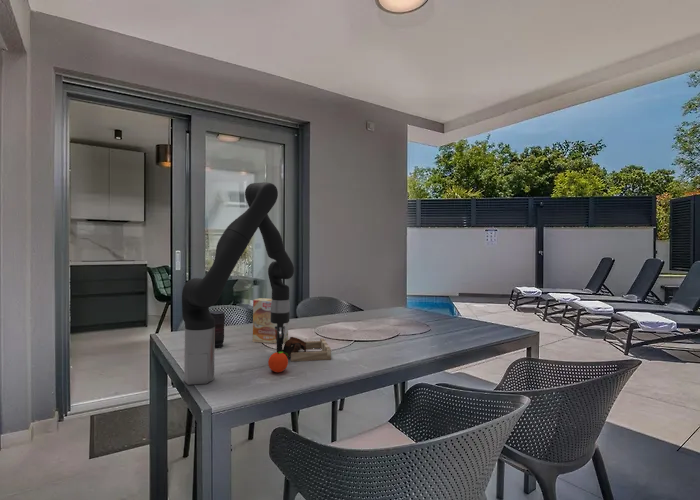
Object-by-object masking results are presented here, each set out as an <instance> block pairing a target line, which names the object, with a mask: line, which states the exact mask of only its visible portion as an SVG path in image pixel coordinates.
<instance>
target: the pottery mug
mask: <svg viewBox="0 0 700 500" xmlns="http://www.w3.org/2000/svg"><path fill="white" fill-rule="evenodd" d="M305 342H306V341H305V340H302V339H300V338H297V337H293V336H290V337H289V338H288V340H287V341H286V342H285V343H284V344H283V347H282V352H283V353H284V352H285V353H284V354H285V355H286V356H287V354H288V356H287V358H289V359H291V353H296V352H299V351H300V348H301V349H303V352H307V349H306V346H305V345H306V343H305ZM292 345H293V346H292ZM291 346H292V347H291ZM286 353H287V354H286Z"/></svg>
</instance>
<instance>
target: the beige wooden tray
mask: <svg viewBox="0 0 700 500" xmlns="http://www.w3.org/2000/svg"><path fill="white" fill-rule="evenodd" d="M304 342H305V343H306V345H305V346H306V350H314V349H313V348H321V349H322V350H321V349H320V350H319V351H306V352H304V351H300V352H296V353H291V355H290V362H306V361H307V362H309V361H312V362H313V361H331V360H332V349H331V347H330V346H329V344H328V343H327V341H326V340H325V338H320V340H315V341H309V340H308V341H304ZM292 346H293V345H292ZM292 346H291V347H292ZM300 349H301V348H300Z"/></svg>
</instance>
